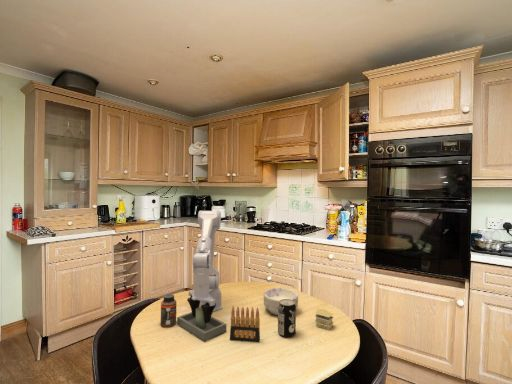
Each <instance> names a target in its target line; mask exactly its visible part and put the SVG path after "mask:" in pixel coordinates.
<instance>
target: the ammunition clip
mask: <svg viewBox="0 0 512 384" xmlns="http://www.w3.org/2000/svg"><path fill="white" fill-rule="evenodd" d="M259 310H260V309H259V307H256V309H255V310H254V307H252V306H251V309H250V308H249V307H248V306H247V307H246V309H245V308H244V306H242V307H241V310H240V307H239V306H237V307H236V312H235V307H234V305H232V307H231V312H230V313H231V314H230V315H231V316H230V327H229V329H230V330H229V341H231V342H232V341H233V342H235V341H236V342H249V343H260V342H261V333H260V332H261V329H260V327H261V326H260V323H261V322H260V320H261V319H260V311H259Z"/></svg>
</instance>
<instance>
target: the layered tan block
mask: <svg viewBox="0 0 512 384" xmlns="http://www.w3.org/2000/svg"><path fill="white" fill-rule="evenodd" d="M333 315H334V313H332V312H331V311H328V310H326V309H324V308H317V310H316V311H315V317H314V318H315V326H316V327H317V328H321V329H323V330H327V331H329V330H331V329H332V328H333V324H334V322H333V320H334V316H333Z"/></svg>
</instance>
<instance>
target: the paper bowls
mask: <svg viewBox="0 0 512 384" xmlns="http://www.w3.org/2000/svg"><path fill="white" fill-rule="evenodd" d="M282 299H290V300H293V301H294V302H295V305H296V309H297V308H298V306H299V295H298V293H297V291H295V290H293V289H290V288H285V287H272V288H269V289H267V290H265V291H264V293H263V306H264V307H265V308H266V309H268V311H269V312H270V313H271V314H273V315H276V316H278V305H279V301H280V300H282Z"/></svg>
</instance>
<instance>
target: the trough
mask: <svg viewBox="0 0 512 384" xmlns="http://www.w3.org/2000/svg"><path fill="white" fill-rule="evenodd" d="M176 325H177V326H178V327H180V328H181V329H183V330H184V331H186V332H188V333H190V334H191V335H192V336H194V337H195V338H197V339H198V340H200V341H202V342H204V343H206V342H208V341H210V340H213V339H215V338H216V337H218V336H221V335H223V334H224V333H227V323H226V322H223V321H221V320H219V319H217V318H215V317H214V316H212V315H211V319H210V322H208V323H206V328H204V329H200V328H198V327H197V326H196V316H195V317H193V315H192V311H190V312H188V313H185V314H182V315H180V316H178V317H177V316H176Z"/></svg>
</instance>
